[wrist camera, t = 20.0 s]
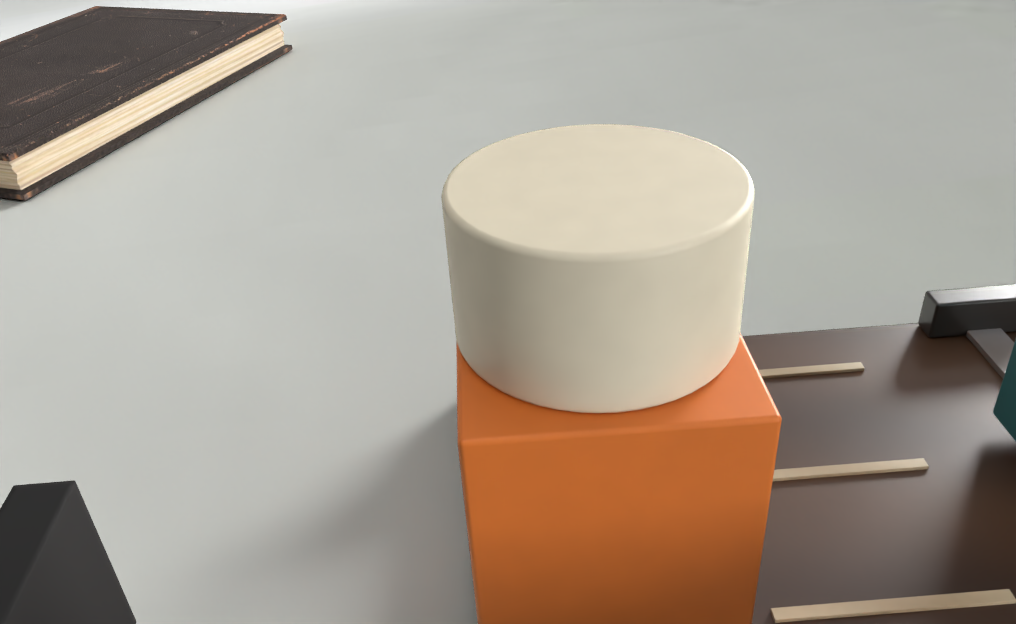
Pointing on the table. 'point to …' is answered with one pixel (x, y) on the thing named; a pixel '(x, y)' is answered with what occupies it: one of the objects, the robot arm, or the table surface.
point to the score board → (892, 469)
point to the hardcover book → (114, 82)
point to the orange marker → (608, 378)
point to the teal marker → (1008, 397)
